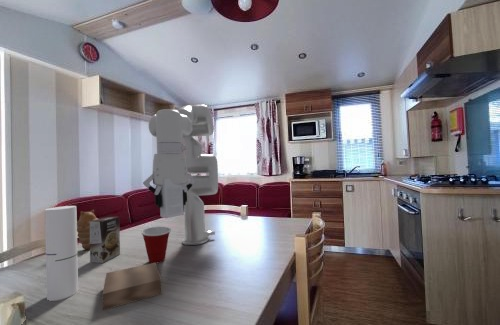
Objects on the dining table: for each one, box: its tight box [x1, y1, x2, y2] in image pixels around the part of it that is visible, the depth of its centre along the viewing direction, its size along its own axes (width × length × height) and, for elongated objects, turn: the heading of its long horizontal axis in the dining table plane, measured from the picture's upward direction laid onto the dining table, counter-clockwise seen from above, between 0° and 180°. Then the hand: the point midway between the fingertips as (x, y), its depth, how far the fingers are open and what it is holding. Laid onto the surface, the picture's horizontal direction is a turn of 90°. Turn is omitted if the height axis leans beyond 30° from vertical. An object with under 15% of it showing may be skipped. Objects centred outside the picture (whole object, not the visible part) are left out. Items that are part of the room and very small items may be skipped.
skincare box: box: [159, 178, 184, 219], centre depth 73 cm, size 6×4×12 cm
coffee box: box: [89, 216, 121, 264], centre depth 95 cm, size 9×6×16 cm
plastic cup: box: [141, 225, 172, 264], centre depth 90 cm, size 11×11×12 cm
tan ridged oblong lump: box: [77, 209, 99, 250], centre depth 107 cm, size 9×8×18 cm
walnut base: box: [102, 263, 163, 310], centre depth 68 cm, size 14×14×4 cm
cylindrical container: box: [44, 205, 79, 302], centre depth 68 cm, size 7×7×25 cm
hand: (171, 205), depth 73 cm, fingers closed on skincare box, 6 cm apart
